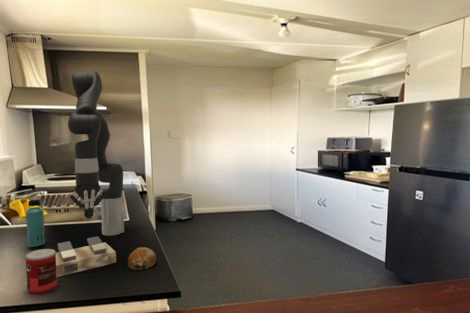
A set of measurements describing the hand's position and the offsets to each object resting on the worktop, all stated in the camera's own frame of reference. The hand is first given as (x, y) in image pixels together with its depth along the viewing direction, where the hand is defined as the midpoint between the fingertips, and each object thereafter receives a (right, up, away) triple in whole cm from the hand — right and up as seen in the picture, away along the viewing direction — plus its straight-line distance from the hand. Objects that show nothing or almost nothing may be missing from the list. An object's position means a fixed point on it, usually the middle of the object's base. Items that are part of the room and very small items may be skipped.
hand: (88, 218), depth 115 cm
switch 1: (-7, -12, -2) cm, 14 cm away
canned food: (-7, -18, -17) cm, 26 cm away
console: (-3, -17, +1) cm, 17 cm away
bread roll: (+19, -17, 0) cm, 26 cm away
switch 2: (+1, -12, +4) cm, 13 cm away
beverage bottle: (-30, -16, +18) cm, 38 cm away
